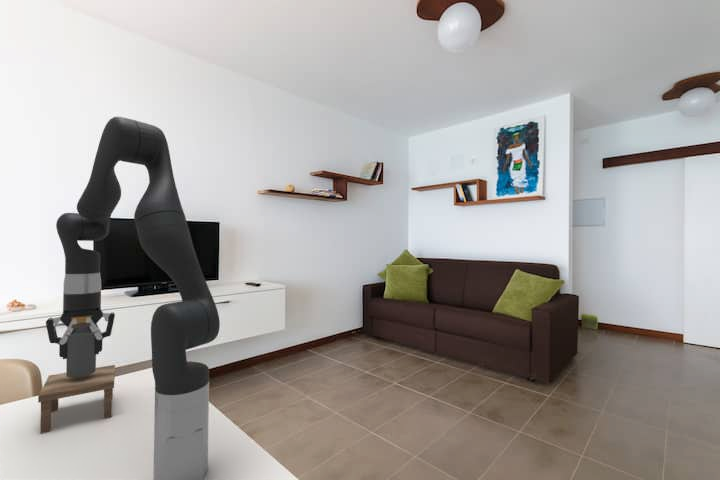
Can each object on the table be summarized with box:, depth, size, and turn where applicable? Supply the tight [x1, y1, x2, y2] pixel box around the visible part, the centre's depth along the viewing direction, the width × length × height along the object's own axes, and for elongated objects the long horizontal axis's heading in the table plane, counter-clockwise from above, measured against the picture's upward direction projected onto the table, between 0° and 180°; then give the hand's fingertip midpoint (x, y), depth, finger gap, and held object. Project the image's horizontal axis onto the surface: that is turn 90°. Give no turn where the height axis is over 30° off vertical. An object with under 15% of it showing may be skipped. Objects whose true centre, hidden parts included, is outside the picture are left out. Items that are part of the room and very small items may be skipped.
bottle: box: [65, 315, 97, 378], centre depth 86 cm, size 6×6×15 cm
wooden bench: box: [37, 364, 116, 434], centre depth 86 cm, size 14×14×9 cm
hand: (81, 355), depth 86 cm, fingers closed on bottle, 5 cm apart
